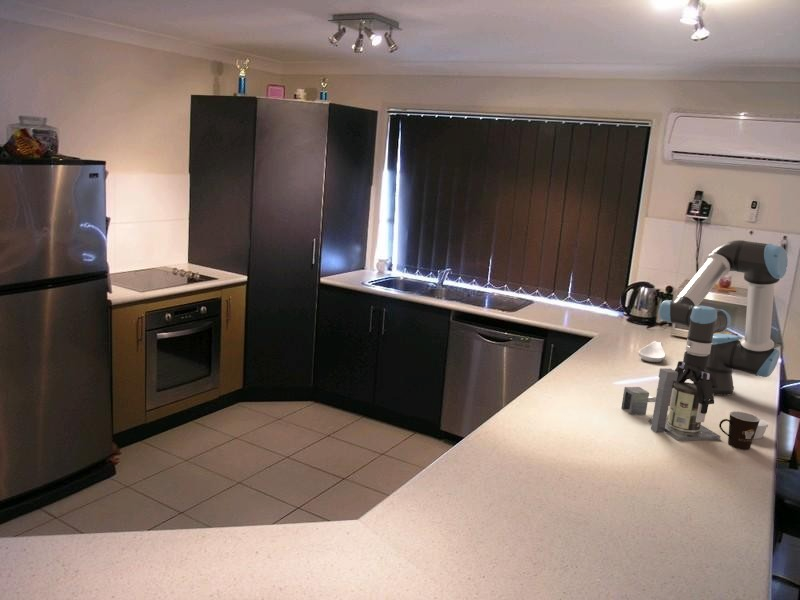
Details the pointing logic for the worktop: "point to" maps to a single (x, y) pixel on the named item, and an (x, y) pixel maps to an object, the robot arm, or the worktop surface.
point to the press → (661, 408)
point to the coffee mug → (741, 429)
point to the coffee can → (684, 407)
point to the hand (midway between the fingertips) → (686, 414)
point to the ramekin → (760, 429)
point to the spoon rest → (652, 352)
